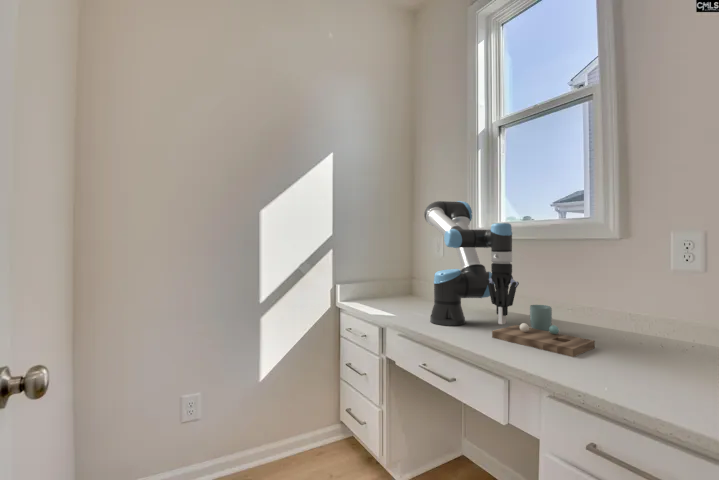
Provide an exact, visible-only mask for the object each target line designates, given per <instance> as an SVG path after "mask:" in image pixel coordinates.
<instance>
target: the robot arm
mask: <svg viewBox="0 0 719 480" xmlns="http://www.w3.org/2000/svg"><path fill="white" fill-rule="evenodd" d="M472 211H473V210H472V207H471V205H470V204H469V203H468V202H466V201H461V200H457V201H446V200H445V201H443V200H440V201H439V200H438V201H434V202H431V203H430V204H429V205H427V207H425V209H424V214H423V215H424V219H425V221H426V223H428V224H429V225H430V226H432V227H435V228H436V229H437V230H438V231H439V232H440V233H441V234H442V235H443V236H444V237H443V238H444V239H443V241H444V245H445V246H446V247H447V248H452V249H453V248H454V249H456V252H457V257H458V260H459V263H460V266H461V269H460V268H453V269H451V268H450V269H443V270H438V271H436V272H435V273H434V277H433V288H434V289H433V294H434V296H433V299H434V300H433V302H434V303H433V306H432V310H431V313H430V315H429V316H430V323H432V324H435V325H439V326H454V327H455V326H462V325H464V324H466V316H465V315H464V314H465V313H464V312H463V308H462V299H483V298H484V299H485V298H490V301H491V304H492V305H495V306H496V315H498V318H497V319H498V321H497V323H498V325H506V323H507V316H508V315H509V314H508V313H509V312H508V307H512V306H513V304H514V300H515V295H516V292H517V288H518V286H519V284H520V283H519V281H516V280H514V277H513V275H512V274H513V264H512V262H513V231H512V230H513V229H512V228H513V227H512V224H510V223H509V222H499V223H498V222H497V223H495V222H494V223H492V224H491V226H490V229H470V227H469V226H470V223H471V221H472V219H473V212H472ZM476 248H477V249H478V248H484V249H488V248H490V251H491V253H490V255H491V260H490V261H491V267H490V268H491V271H487V269H486V266H485V265H484V264H482V263H481V262H480V258H479V256H478V251H477V249H476Z"/></svg>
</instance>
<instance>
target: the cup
mask: <svg viewBox="0 0 719 480" xmlns="http://www.w3.org/2000/svg"><path fill="white" fill-rule="evenodd" d="M552 322H553V308H552V306H550V305H544V304H530V305H529V323H530V328H533V329H538V330H544V331H549V327H550V326H552V325H553V324H552ZM549 332H550V331H549Z"/></svg>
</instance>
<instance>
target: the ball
mask: <svg viewBox="0 0 719 480" xmlns="http://www.w3.org/2000/svg"><path fill="white" fill-rule="evenodd" d="M519 326H520V330H521V331H522V332H527V331H528V330H529V328H530V326H529V325H528V324H527V323H525V322H522V323H520V325H519Z"/></svg>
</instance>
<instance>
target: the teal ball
mask: <svg viewBox="0 0 719 480" xmlns="http://www.w3.org/2000/svg"><path fill="white" fill-rule="evenodd" d="M549 332H550V333H551V334H557V333H559V332H560V329H559V327H558V326H557V325H556V324H555V325H553V324H551V326H550V327H549Z"/></svg>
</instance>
